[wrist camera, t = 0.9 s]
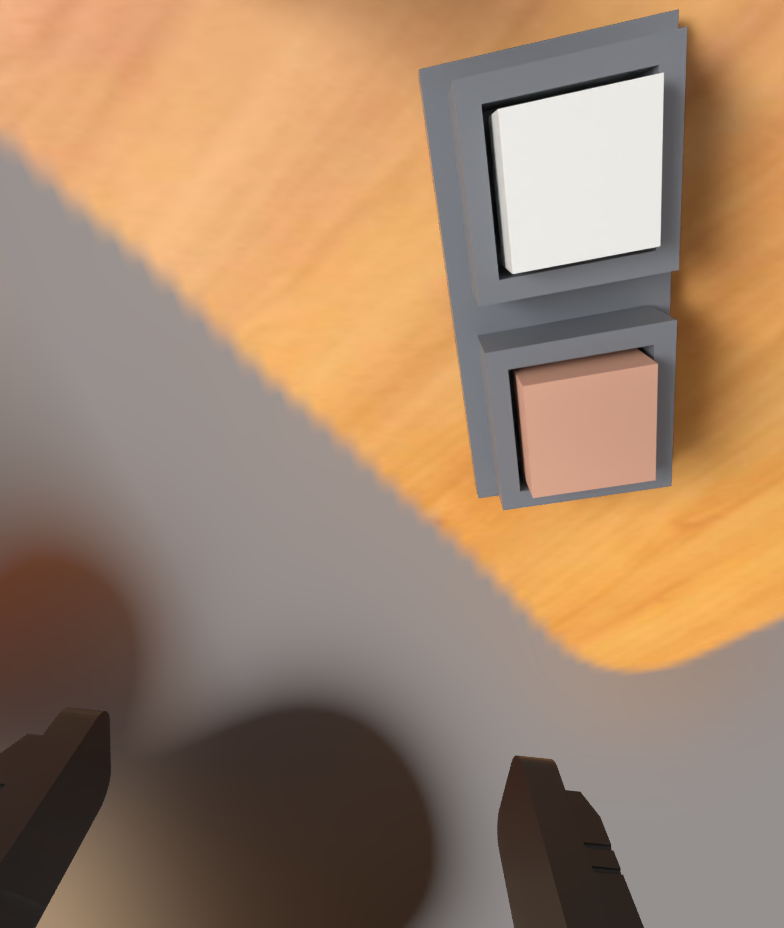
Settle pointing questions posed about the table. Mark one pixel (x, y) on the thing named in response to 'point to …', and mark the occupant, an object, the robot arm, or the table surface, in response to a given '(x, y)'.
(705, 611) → the table surface
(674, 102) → the key console
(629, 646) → the table surface
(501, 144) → the off-white key
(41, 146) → the table surface
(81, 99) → the table surface
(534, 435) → the terracotta key
